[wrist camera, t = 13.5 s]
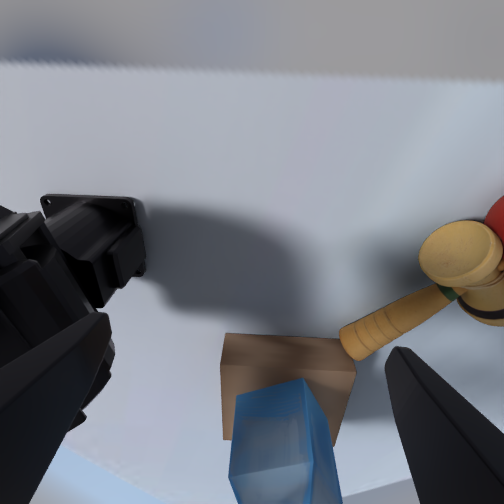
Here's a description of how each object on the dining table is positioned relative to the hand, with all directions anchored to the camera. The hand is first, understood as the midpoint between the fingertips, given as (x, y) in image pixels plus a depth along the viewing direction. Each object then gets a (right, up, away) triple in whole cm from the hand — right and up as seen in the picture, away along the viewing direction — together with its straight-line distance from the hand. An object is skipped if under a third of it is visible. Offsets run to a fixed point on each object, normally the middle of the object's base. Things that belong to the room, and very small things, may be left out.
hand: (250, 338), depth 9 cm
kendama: (+14, +1, +14) cm, 20 cm away
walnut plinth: (+3, -10, +20) cm, 23 cm away
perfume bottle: (+3, -11, +17) cm, 21 cm away
